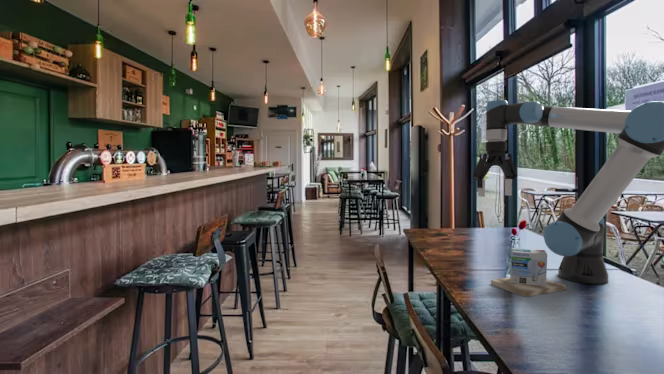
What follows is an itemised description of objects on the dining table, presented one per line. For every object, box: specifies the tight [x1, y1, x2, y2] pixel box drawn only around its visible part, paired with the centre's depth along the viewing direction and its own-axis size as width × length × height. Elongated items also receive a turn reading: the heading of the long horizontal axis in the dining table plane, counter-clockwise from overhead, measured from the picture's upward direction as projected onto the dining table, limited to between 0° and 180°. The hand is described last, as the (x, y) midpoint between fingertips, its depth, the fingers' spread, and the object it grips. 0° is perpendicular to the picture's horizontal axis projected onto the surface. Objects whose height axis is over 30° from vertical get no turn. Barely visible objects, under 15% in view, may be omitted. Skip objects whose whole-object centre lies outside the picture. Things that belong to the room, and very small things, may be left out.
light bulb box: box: [509, 247, 548, 287], centre depth 129 cm, size 11×7×11 cm, turn 68°
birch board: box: [490, 276, 567, 298], centre depth 130 cm, size 18×14×2 cm
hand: (495, 196), depth 151 cm, fingers open, 13 cm apart
